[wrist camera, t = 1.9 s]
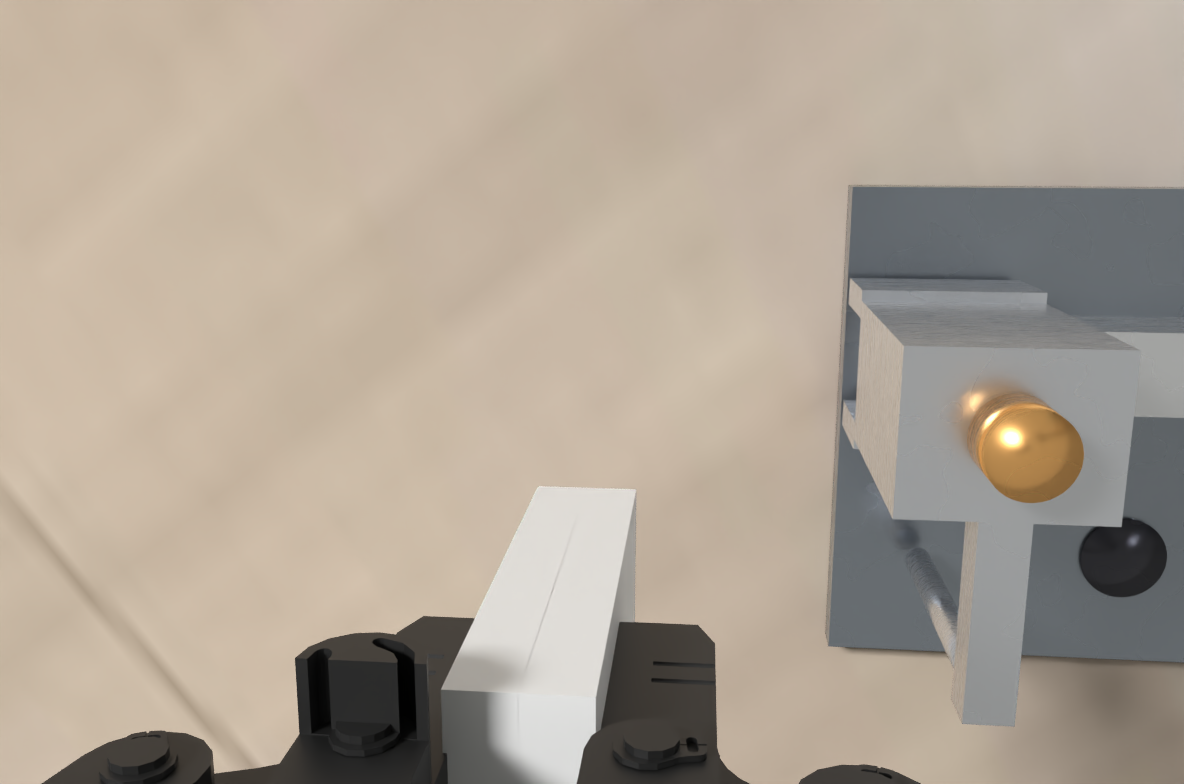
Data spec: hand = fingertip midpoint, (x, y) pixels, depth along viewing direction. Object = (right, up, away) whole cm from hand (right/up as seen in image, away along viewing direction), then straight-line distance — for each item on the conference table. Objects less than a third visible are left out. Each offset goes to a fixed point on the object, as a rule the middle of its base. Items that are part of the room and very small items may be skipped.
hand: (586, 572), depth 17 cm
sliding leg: (+10, +2, +18) cm, 21 cm away
